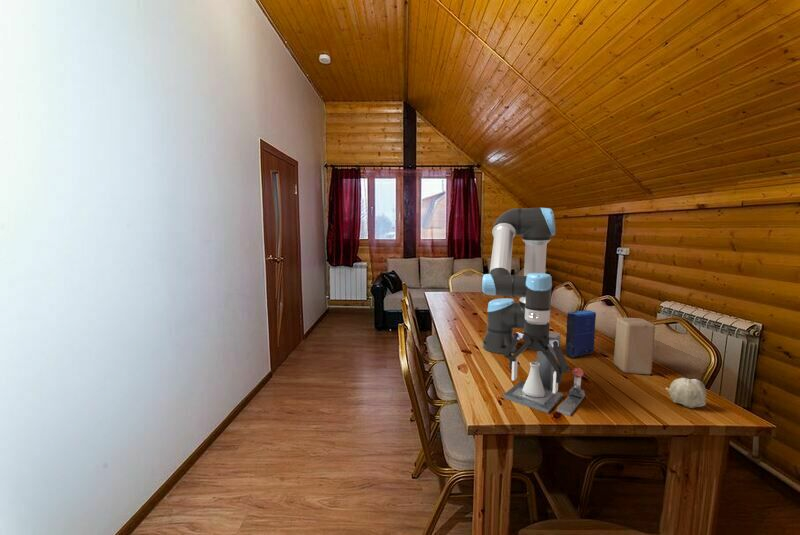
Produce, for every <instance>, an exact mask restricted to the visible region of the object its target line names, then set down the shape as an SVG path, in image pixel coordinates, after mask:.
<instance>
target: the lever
mask: <svg viewBox="0 0 800 535" xmlns="http://www.w3.org/2000/svg"><path fill="white" fill-rule="evenodd" d="M572 375H573V386H571V388H570V389H569V390H568V395H569V394H571V395H574V396H577V397H582V396H583V395H584V394H585V390H584V389H582V386H581V385H582V377H584V370H583V369H582V368H580V367H575V368H573V369H572Z"/></svg>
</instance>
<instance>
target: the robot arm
mask: <svg viewBox="0 0 800 535" xmlns="http://www.w3.org/2000/svg"><path fill="white" fill-rule="evenodd" d="M491 233H492V237H493V241H492V249H491V250H492V251H491V258H490V259H491V260H490V267H489V273H485V274H483V275H482V282H481V285H482V286H481V287H482V288H481V289H482V290H481V292H482V293H483V294H484V295H487V296H493V297H495V296H500V297H501V296H503V297H504V298H495V299H492V300H490V301H489V302H488V305H487V310H486V311H487V318H486V319H487V324H486V325H487V326H486V332H485V335H484V338H483V341H482V348H483V349H484V350H485V351H488V352H491V353H493V354H502V355H503V354H504V355H503V357H504V358H506V359H508V360H509V370H511V381H515V380H517V379H518V364H519V363H518V362H519V360H518V359H517V358H518V357H519V356H520V355H521V354H522V353H523V352H525V351H526V350H527V348H528V349H529V350H534V351H536V352H537V351H542V353H543V354H544V355H545V356H546V358H547V359H548V360H549V362H550V363H551V365H552V366H553V368H554V369H555V372H554V374H553V389H552V390H553V392H552V393H554V394H555V393H556V392H559V384H561V382H562V381H563V380H562V379H563V374H567V373H568V372H569V371H570V368H569V365H568V363H567V361H566V358H565V356H564V354H563V351H562V349H561V341H559V340H550V339H549V332H550V327H551V326H550V320H551V298H552V287H553V282H552V278H553V277H552V276H551V274H548V273H546V264H547V261H546V260H547V246H548V245H547V244H548V243H549V242H550V241H551V240H552V237H553V236H555V235H556V222H555V215H554V211H553V210H552V208H551V207H529V208H527V207H525V208H524V207H523V208H521V207H520V208H511V209H508V210H506V211H505V212H503V213H501V215H499V217H497V219H496V220H495V222H494V224H493V227H492V230H491ZM515 236H521V240H522V242H523V243H524V245H525V246H524V247H525V248H524V266H523V267H524V268H523V275H514V274H511V272H512V259H513V258H512V257H513V245H514V244H513V242H514V238H515ZM507 297H515V298H516V297H518V298H519V300H518V301H519V302H515V299H513V298H507ZM514 329H519V330H520V329H521V330H523V333H521V332H520V331H516V332H515V333H514ZM521 339H522V340H523V341H524V343H523V344H522V345H521V347H520V348H518V350H517V345H518V343H519V341H520V340H521ZM548 344H551V346H552V347H553V349H554V352H555V354H556V357H557V358H556V359H555V357H554V356H553V354H552V353H551V351H550V349H549V347H548V346H547V345H548Z"/></svg>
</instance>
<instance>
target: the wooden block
mask: <svg viewBox="0 0 800 535" xmlns="http://www.w3.org/2000/svg"><path fill="white" fill-rule="evenodd" d="M655 332H656V325H655V323H653V322H650V321H648V320H646V319H644V318H641V317H637V318H636V317H621V316H620V317H617V318H616V325H615V340H614V350H613V351H614V355H613V364H614V365H615V366H616V367H617V368H618V369H619V370H620V371H622V372H623V373H625V374H637V375H638V374H640V375H651V374H652V370H653V358H654V345H655V334H656V333H655Z"/></svg>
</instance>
